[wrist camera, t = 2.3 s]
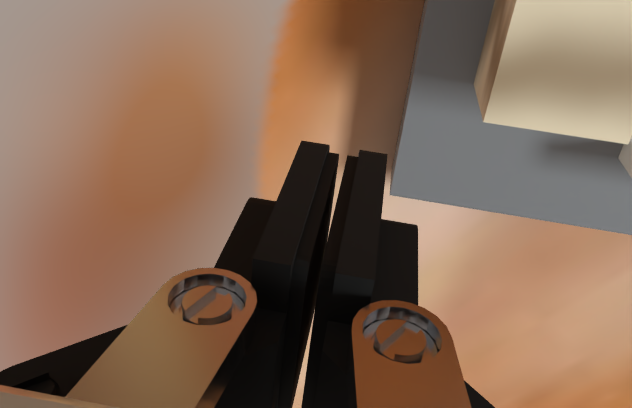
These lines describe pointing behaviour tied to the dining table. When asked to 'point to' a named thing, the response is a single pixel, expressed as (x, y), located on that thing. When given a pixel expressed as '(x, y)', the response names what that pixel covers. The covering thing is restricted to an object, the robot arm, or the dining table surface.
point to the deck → (496, 140)
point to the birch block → (559, 67)
